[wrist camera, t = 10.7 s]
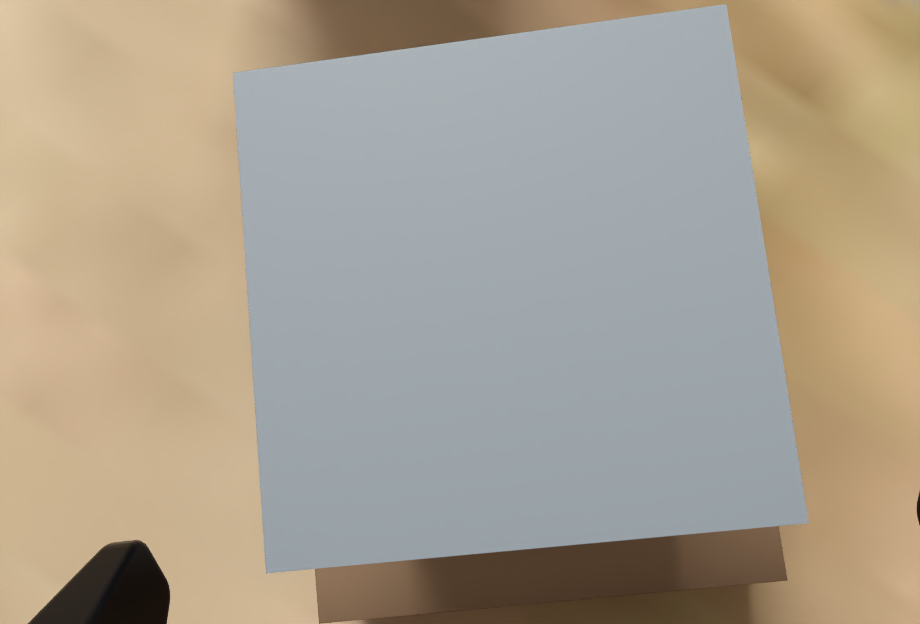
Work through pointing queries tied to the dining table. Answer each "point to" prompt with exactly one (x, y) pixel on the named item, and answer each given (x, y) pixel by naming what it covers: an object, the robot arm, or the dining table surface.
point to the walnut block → (550, 574)
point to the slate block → (510, 296)
